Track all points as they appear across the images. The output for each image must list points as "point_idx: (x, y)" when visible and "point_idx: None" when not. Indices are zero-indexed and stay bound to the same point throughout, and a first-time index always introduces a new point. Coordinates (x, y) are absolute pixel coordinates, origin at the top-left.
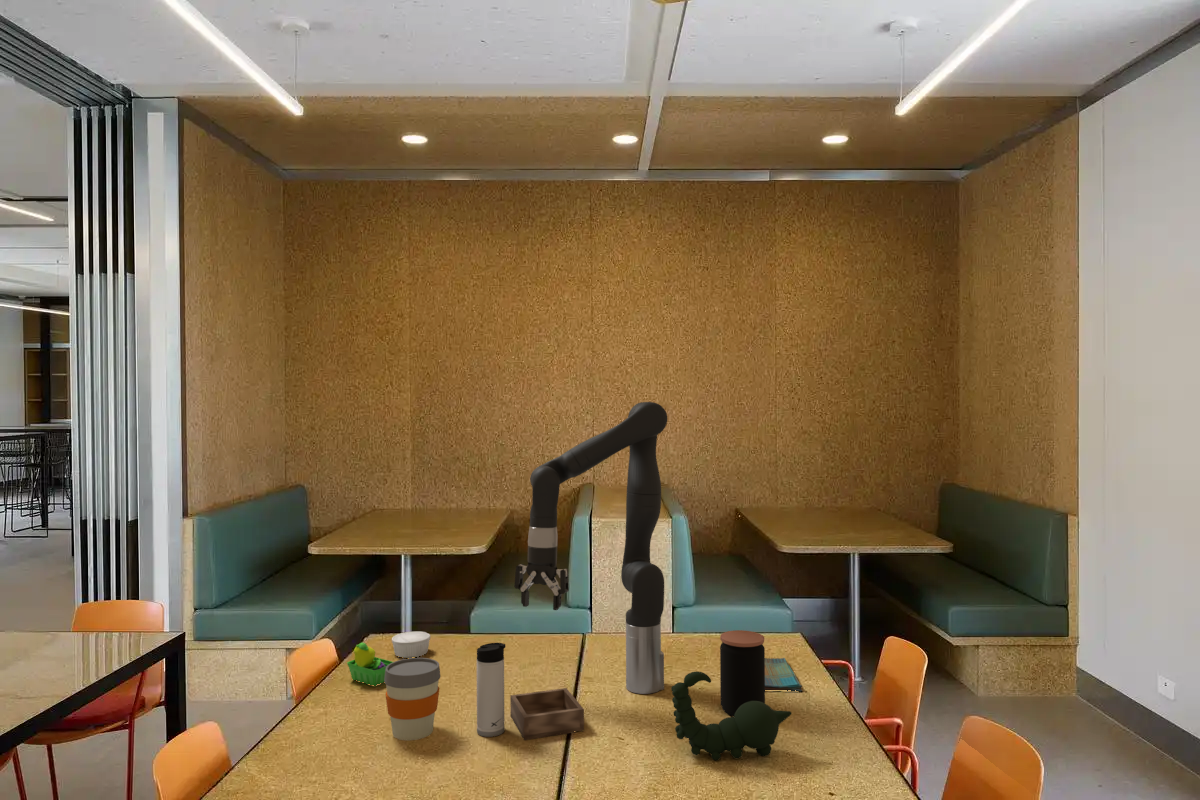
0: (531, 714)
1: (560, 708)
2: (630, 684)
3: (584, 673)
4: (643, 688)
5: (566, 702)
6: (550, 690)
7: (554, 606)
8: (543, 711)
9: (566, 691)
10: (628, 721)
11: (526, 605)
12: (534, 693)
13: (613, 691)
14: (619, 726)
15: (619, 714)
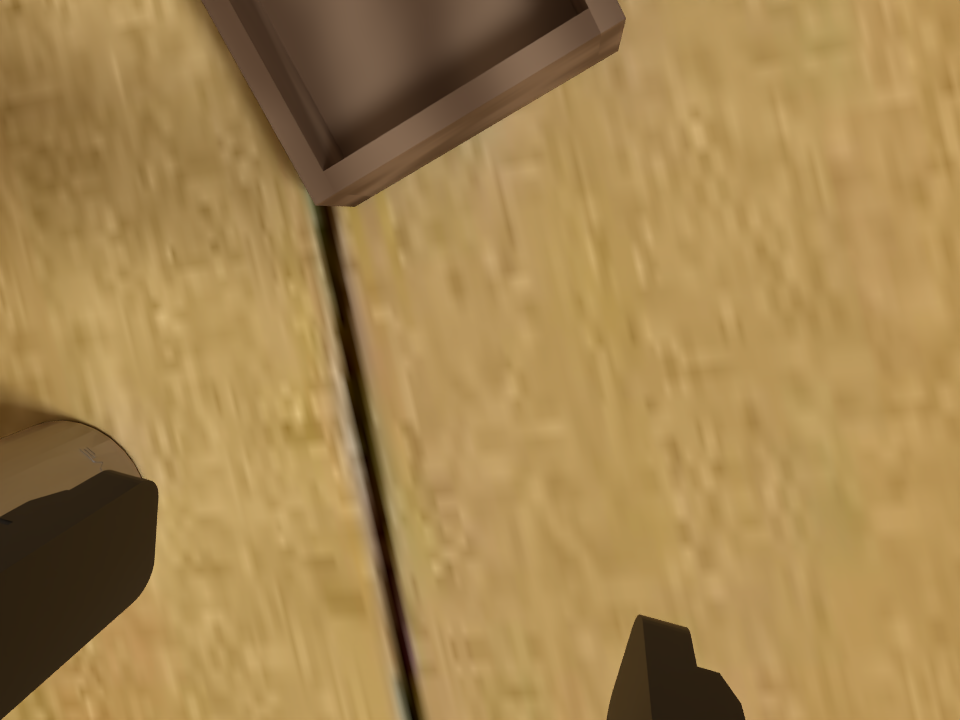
0: (494, 32)
1: (363, 143)
2: (92, 453)
3: (374, 655)
4: (37, 428)
5: (314, 124)
6: (395, 147)
7: (94, 494)
8: (441, 88)
9: (300, 147)
10: (44, 96)
11: (628, 656)
12: (479, 81)
13: (192, 444)
14: (66, 28)
15: (101, 172)
